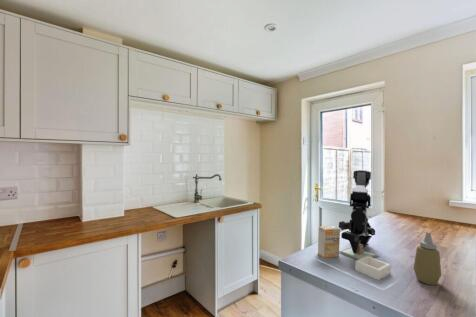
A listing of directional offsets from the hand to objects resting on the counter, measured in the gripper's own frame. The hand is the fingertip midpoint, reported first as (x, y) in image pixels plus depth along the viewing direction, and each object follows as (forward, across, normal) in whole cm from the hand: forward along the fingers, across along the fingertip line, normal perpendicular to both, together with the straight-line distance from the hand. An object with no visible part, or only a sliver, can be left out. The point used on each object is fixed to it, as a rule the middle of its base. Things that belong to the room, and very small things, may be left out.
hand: (358, 251), depth 110 cm
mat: (+2, 0, 0) cm, 2 cm away
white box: (+2, +11, +12) cm, 16 cm away
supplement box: (+2, +12, -7) cm, 14 cm away
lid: (+1, 0, 0) cm, 1 cm away
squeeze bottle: (+2, 0, +26) cm, 26 cm away
